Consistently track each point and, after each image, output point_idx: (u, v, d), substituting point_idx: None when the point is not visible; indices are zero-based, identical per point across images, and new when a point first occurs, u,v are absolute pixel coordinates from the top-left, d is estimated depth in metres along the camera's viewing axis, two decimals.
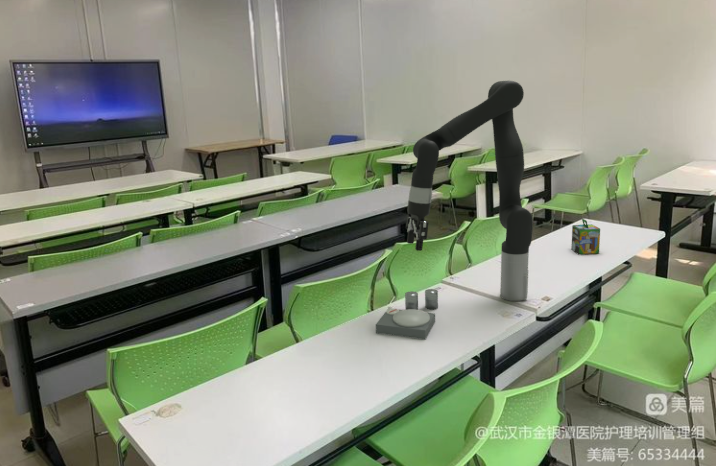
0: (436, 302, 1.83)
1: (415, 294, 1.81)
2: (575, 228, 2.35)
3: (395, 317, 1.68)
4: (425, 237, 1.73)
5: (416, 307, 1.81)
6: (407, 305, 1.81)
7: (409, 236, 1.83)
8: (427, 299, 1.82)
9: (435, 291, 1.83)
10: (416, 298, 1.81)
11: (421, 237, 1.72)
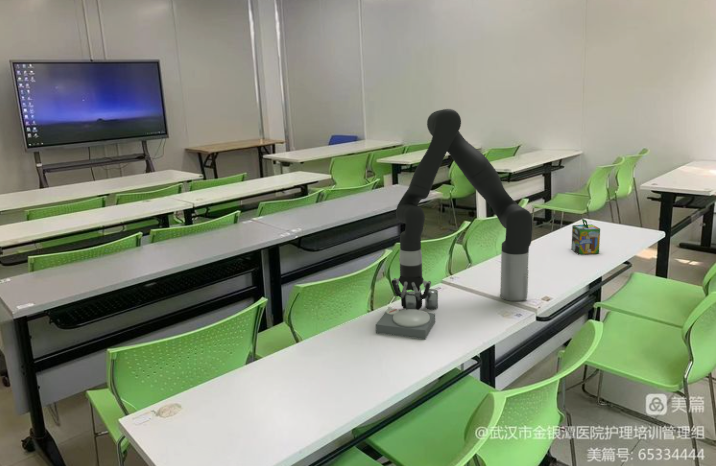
0: (436, 302, 1.83)
1: (415, 294, 1.81)
2: (575, 228, 2.35)
3: (395, 317, 1.68)
4: None
5: (416, 307, 1.81)
6: (407, 305, 1.81)
7: None
8: (427, 299, 1.82)
9: (435, 291, 1.83)
10: (416, 298, 1.81)
11: (426, 296, 1.79)
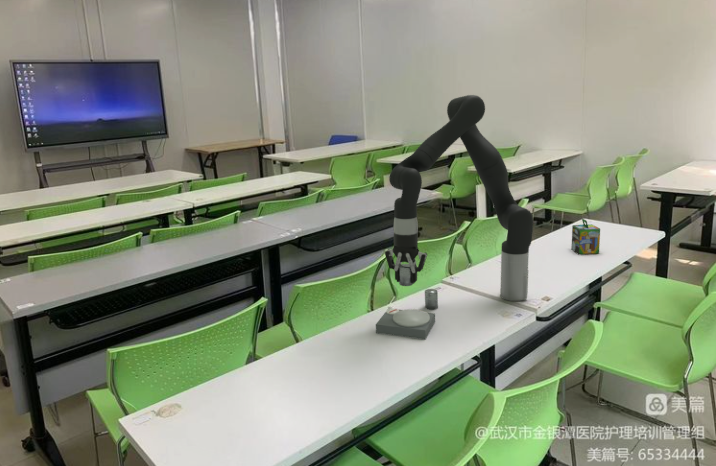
0: (436, 302, 1.83)
1: None
2: (575, 228, 2.35)
3: (395, 317, 1.68)
4: (422, 268, 1.68)
5: (410, 280, 1.69)
6: (401, 278, 1.69)
7: (398, 274, 1.70)
8: (427, 299, 1.82)
9: (434, 290, 1.83)
10: (411, 271, 1.68)
11: (421, 269, 1.67)
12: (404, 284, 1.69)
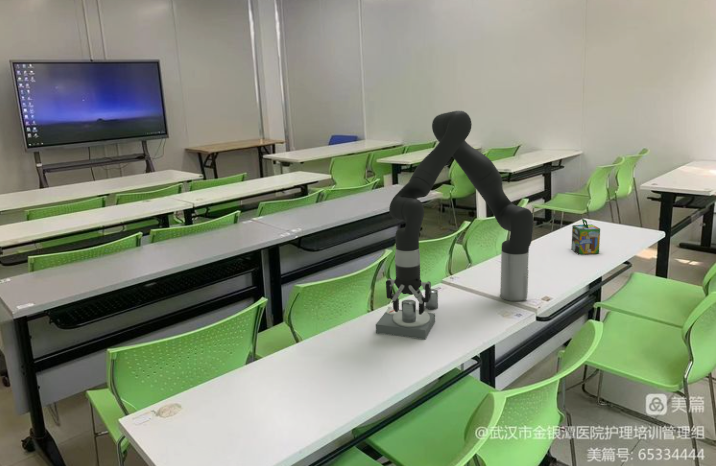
0: (437, 302, 1.83)
1: (413, 303, 1.64)
2: (575, 228, 2.35)
3: (395, 317, 1.68)
4: (429, 298, 1.62)
5: (414, 317, 1.64)
6: (404, 315, 1.64)
7: (397, 304, 1.65)
8: None
9: (435, 290, 1.83)
10: (414, 307, 1.63)
11: (428, 299, 1.61)
12: (407, 321, 1.64)
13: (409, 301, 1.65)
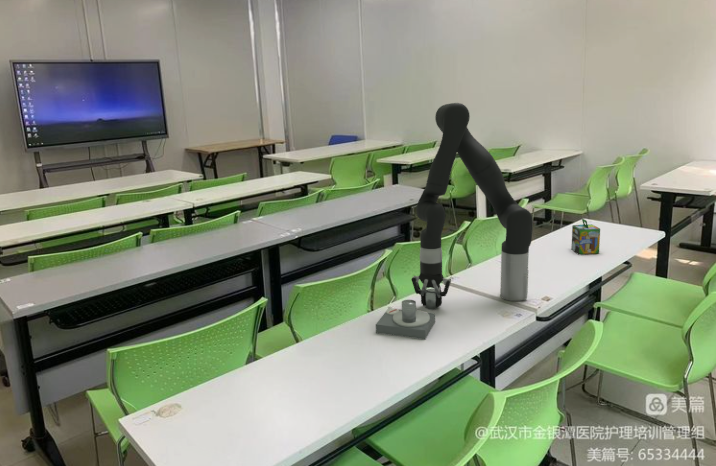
0: None
1: (413, 303, 1.64)
2: (575, 228, 2.35)
3: (395, 317, 1.68)
4: (446, 292, 1.82)
5: (414, 317, 1.64)
6: (404, 315, 1.64)
7: (424, 299, 1.84)
8: (428, 299, 1.82)
9: (434, 290, 1.83)
10: (414, 307, 1.63)
11: None
12: (407, 321, 1.64)
13: (409, 301, 1.65)
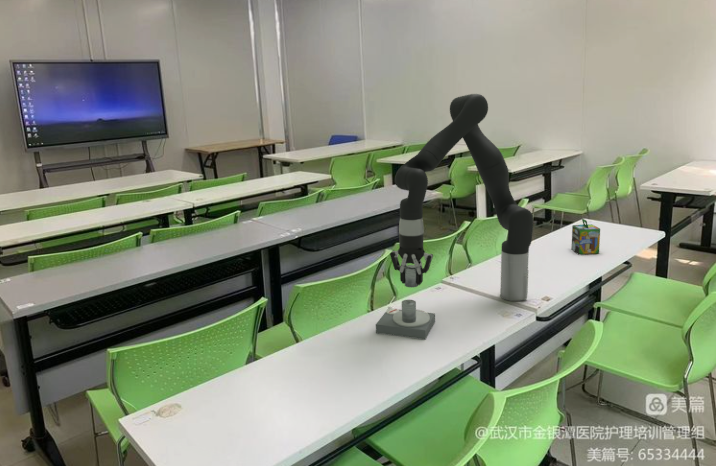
0: None
1: (413, 303, 1.64)
2: (575, 228, 2.35)
3: (395, 317, 1.68)
4: (428, 269, 1.67)
5: (414, 317, 1.64)
6: (404, 315, 1.64)
7: (404, 276, 1.69)
8: (407, 276, 1.67)
9: None
10: (414, 307, 1.63)
11: (427, 270, 1.65)
12: (407, 321, 1.64)
13: (409, 301, 1.65)
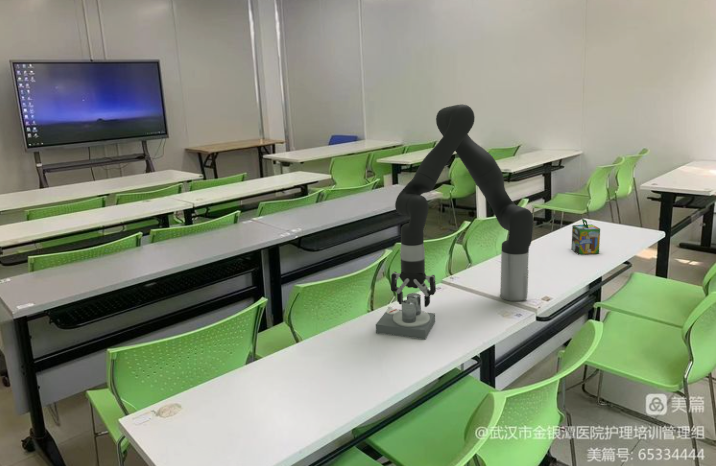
0: (420, 307, 1.69)
1: (413, 303, 1.64)
2: (575, 228, 2.35)
3: (395, 317, 1.68)
4: (435, 290, 1.67)
5: (414, 317, 1.64)
6: (404, 315, 1.64)
7: (401, 297, 1.70)
8: None
9: (417, 295, 1.69)
10: (414, 307, 1.63)
11: (434, 292, 1.66)
12: (407, 321, 1.64)
13: (409, 301, 1.65)
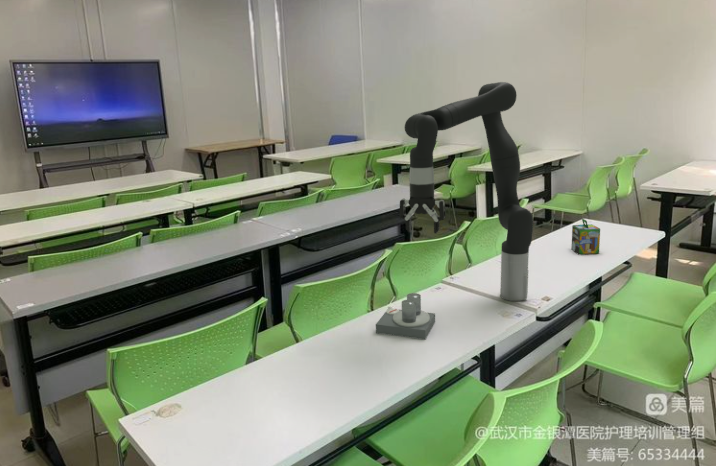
0: (420, 307, 1.69)
1: (413, 303, 1.64)
2: (575, 228, 2.35)
3: (395, 317, 1.68)
4: (445, 216, 1.64)
5: (414, 317, 1.64)
6: (404, 315, 1.64)
7: (409, 224, 1.67)
8: None
9: (417, 295, 1.69)
10: (414, 307, 1.63)
11: (444, 217, 1.63)
12: (407, 321, 1.64)
13: (409, 301, 1.65)
